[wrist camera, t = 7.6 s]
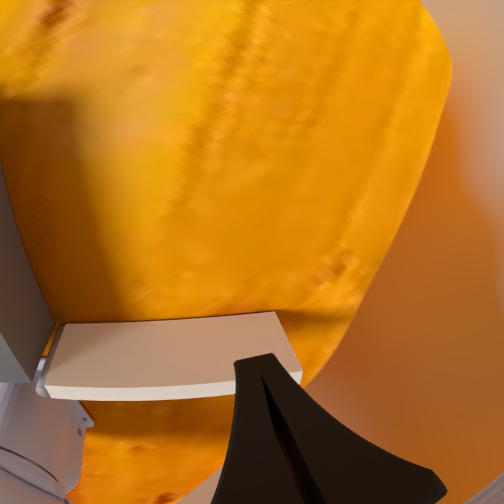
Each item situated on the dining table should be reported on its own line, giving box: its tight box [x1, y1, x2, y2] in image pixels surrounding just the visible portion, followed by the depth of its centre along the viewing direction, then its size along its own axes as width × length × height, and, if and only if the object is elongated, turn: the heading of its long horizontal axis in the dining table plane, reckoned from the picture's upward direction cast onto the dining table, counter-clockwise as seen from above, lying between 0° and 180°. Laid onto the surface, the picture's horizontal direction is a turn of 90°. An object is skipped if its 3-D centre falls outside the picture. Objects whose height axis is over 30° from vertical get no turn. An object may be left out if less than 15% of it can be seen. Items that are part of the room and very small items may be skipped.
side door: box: [36, 311, 303, 401], centre depth 18 cm, size 16×2×6 cm, turn 88°
